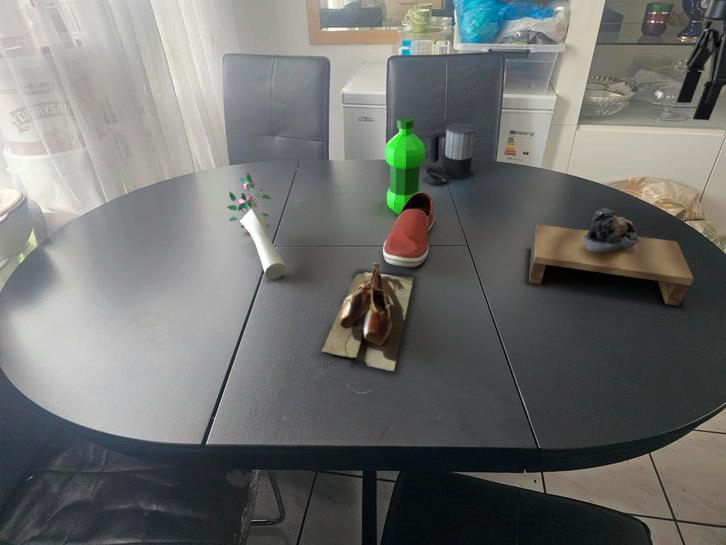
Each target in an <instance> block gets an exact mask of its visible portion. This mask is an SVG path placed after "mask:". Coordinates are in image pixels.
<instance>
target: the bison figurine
mask: <svg viewBox="0 0 726 545" xmlns="http://www.w3.org/2000/svg"><path fill="white" fill-rule="evenodd" d="M615 214H616V210H612V209H610V208H608V207H602V208H600V209H598V210H597V211H595V213H594V215H593V216H592V219H591V222H590V230H587V231H588V233H587V235H586V236H583V240H584V242H585V244H586V247H587V249H588V250H590V251H593V252H609V251H614V250H617V249H619V248H624V247H625V248H630V247H633V246H634V245H635V244H637V243H639V242H640V241H639V239H638V237H639V236H638V235H637V229H636V228H635V226H634V224H633V222H632V221H631V220H628V219H626V218H625V217H623V216H620V217H619V216H616V215H615Z"/></svg>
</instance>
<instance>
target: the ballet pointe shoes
mask: <svg viewBox="0 0 726 545" xmlns="http://www.w3.org/2000/svg"><path fill="white" fill-rule="evenodd" d="M380 264H381V263H380V262H373V263H372V267H373V269H372V270H371V272H366V271H365V272H364V274H361V273H358V274H356V276H355V278H354V279H353V281H352V284H351V286H350V288H349V290H348V293H347V295H346V297H345V298H344V299H343V303H342V304H341V305H340V307H339V309H340V310H339V311H338V314H337V316H336V318H335V320H334V322H333V323H332V326H331V328H330V331H329V333H328V335H327V338H326V340H325V341H324V345H323V346H322V347H323V348H322V349H321V352H322V353H327V354H331V355H334V356H335V355H336V356H341V357H347V358H351V359H353V358H355V363H357V362H358V359H359V356H360V355H361V354H364V351H365V350H366V352H365V359H364V362H365V363H366V365H367V366H368V367H372V368H375V369H382V370H385V371H390V372H391V371H392V372H394V371H395V368H396V363H397V359H398V354H399V349H400V344H401V340H402V334H403V330H404V325H405V324H404V323H405V320H406V315H407V311H408V306H409V301H410V298H411V297H410V296H411V293H412V288H413V285H414V284H413V282H414V277H413V276H406V275H392V274H384V273H379V270H380V266H381V265H380ZM365 344H366V345H365Z"/></svg>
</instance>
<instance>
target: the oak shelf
mask: <svg viewBox="0 0 726 545" xmlns="http://www.w3.org/2000/svg"><path fill="white" fill-rule="evenodd" d="M588 231H589V230H585V229H578V228H577V229H576V228H572V227H571V228H570V227H562V226H561V227H560V226H552V225H544V224H536V225H535V230H534V234H533V239H532V244H531V247H530V248H531V249H530V259H529V278H528V283H531V284H538V285H542V283H543V282H542V281H543V278H544V274H545V270H546V266H552V267H560V268H568V269H573V270H581V271H588V272H596V273H601V274H607V275H613V276H615V275H616V276H621V277H622V276H623V277H628V278H629V277H630V278H636V279H642V280H651V281H657V283H658V286H659V289H660V291H661V295H662V299H663V301H664V304H666V305H670V306H677V307H678V306H680V305H681V303H682V301H683V299H684V297H685V294H686V293H687V291H688V289H689V286H691V285H692V283H693V281H694V278H695V277H694V276H693V274H692V271H691V270H690V267H689V265H688V262H687V260H686V258H685V256H684V253H683V252H682V249H681V247H680V245H679V242H678V241H676V240H667V239H660V238H652V237H644V236H637V237H638V239H639V241H640V242H639V243H637V244H635V245H634V246H633V247H630V248H625V247H624V248H619V249H617V250H614V251H609V252H593V251H590V250H588V249H587V247H586V244H585V242H584V240H583V236H586V235H587V233H588Z"/></svg>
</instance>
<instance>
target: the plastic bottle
mask: <svg viewBox="0 0 726 545" xmlns="http://www.w3.org/2000/svg"><path fill="white" fill-rule="evenodd" d="M396 128H397V129H398V133H397V134H396V135H395V134H394V136H393V137H392V138H390V140H388V141H387V142H386V145H385V148H384V152H385V155H384V156H385V161H386V163H387V164H388V165H389V188H388V189H387V192H386V205H387V207H388V208H389V209H391V210H392V211H394V212H395V213H396V214H398V215H400V213H401V210H402V208H403V206H404V205H405V204H406V202H407V201H408V199H409V198H410V197H411V196H412V195H414V194H416V193H419V192H421V190H420V188H419V187H420V166H421V164H422V163H424V161H425V158H426V149H425V144H424V142H423V140H421V139H420V138H419V137H418V136H417V135H416V134H414V133H413V132H412V130H413V128H415V118H414V117H411V116H401V117H398V118H397V119H396Z"/></svg>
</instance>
